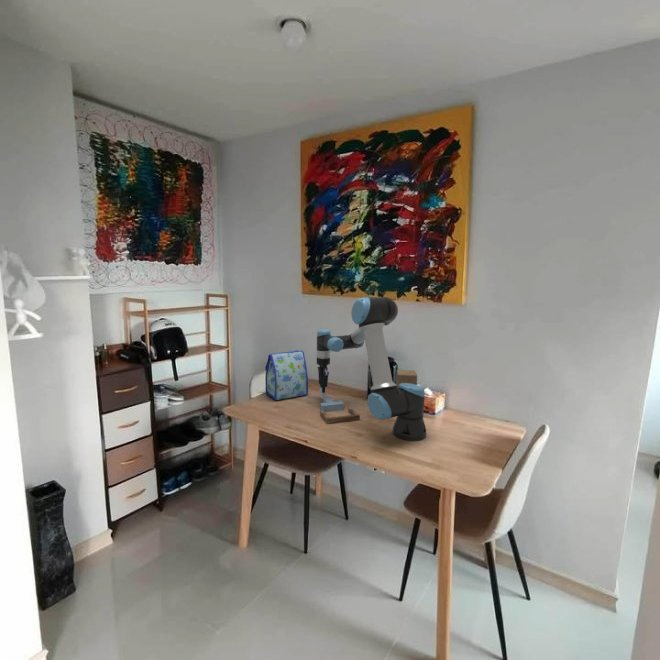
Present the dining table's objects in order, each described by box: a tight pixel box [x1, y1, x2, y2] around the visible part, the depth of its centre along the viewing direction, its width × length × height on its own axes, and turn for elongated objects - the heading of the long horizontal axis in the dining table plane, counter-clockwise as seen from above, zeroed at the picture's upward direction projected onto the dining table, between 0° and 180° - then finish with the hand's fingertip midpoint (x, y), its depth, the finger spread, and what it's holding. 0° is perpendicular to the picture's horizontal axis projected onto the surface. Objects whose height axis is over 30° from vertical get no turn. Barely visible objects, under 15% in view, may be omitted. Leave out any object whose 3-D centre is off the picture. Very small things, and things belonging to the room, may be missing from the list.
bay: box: [319, 407, 361, 425], centre depth 195 cm, size 12×17×2 cm
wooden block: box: [395, 369, 418, 389], centre depth 209 cm, size 10×10×20 cm
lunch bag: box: [264, 349, 309, 401], centre depth 226 cm, size 22×17×26 cm
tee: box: [319, 396, 345, 413], centre depth 210 cm, size 12×12×4 cm
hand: (322, 397), depth 221 cm, fingers closed
